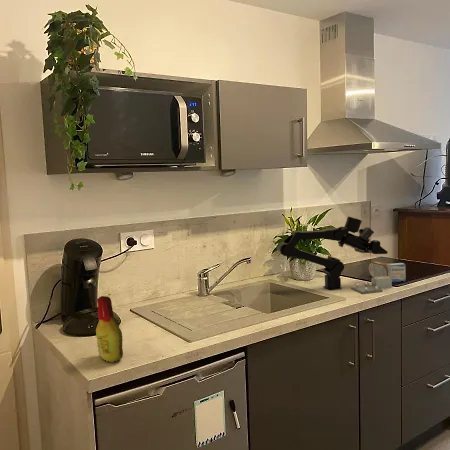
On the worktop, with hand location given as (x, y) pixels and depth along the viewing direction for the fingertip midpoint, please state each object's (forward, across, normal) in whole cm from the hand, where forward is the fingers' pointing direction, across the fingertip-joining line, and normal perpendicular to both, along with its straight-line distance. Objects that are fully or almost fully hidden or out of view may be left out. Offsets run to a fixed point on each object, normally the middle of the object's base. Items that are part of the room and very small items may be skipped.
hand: (382, 252), depth 223 cm
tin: (+10, +12, +12) cm, 19 cm away
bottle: (-104, -56, +70) cm, 138 cm away
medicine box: (+14, +4, +10) cm, 18 cm away
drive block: (+3, -4, +16) cm, 17 cm away
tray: (-5, -7, +20) cm, 22 cm away
